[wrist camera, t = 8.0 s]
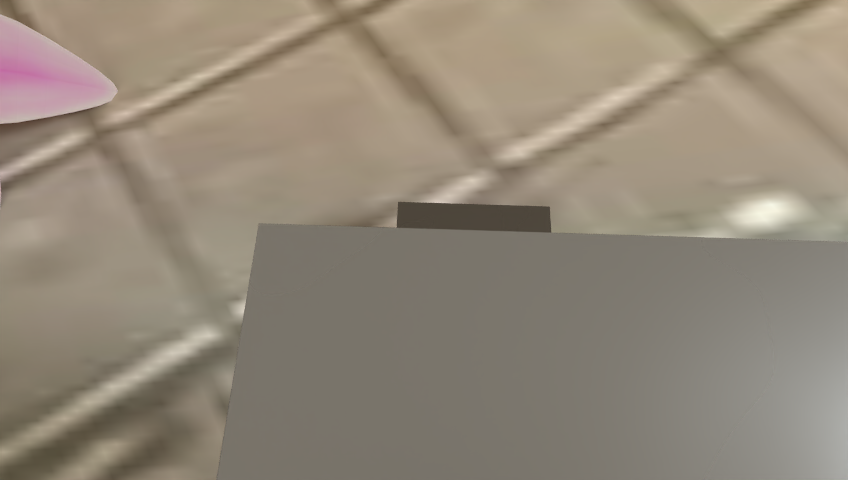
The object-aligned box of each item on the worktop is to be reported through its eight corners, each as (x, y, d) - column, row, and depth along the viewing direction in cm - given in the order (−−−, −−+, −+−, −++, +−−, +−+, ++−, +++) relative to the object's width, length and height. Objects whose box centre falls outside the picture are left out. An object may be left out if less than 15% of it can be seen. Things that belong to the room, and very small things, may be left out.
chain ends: (560, 821, 13) (601, 946, 10) (369, 812, 13) (351, 932, 10) (534, 233, 19) (555, 196, 16) (401, 229, 19) (396, 191, 16)
